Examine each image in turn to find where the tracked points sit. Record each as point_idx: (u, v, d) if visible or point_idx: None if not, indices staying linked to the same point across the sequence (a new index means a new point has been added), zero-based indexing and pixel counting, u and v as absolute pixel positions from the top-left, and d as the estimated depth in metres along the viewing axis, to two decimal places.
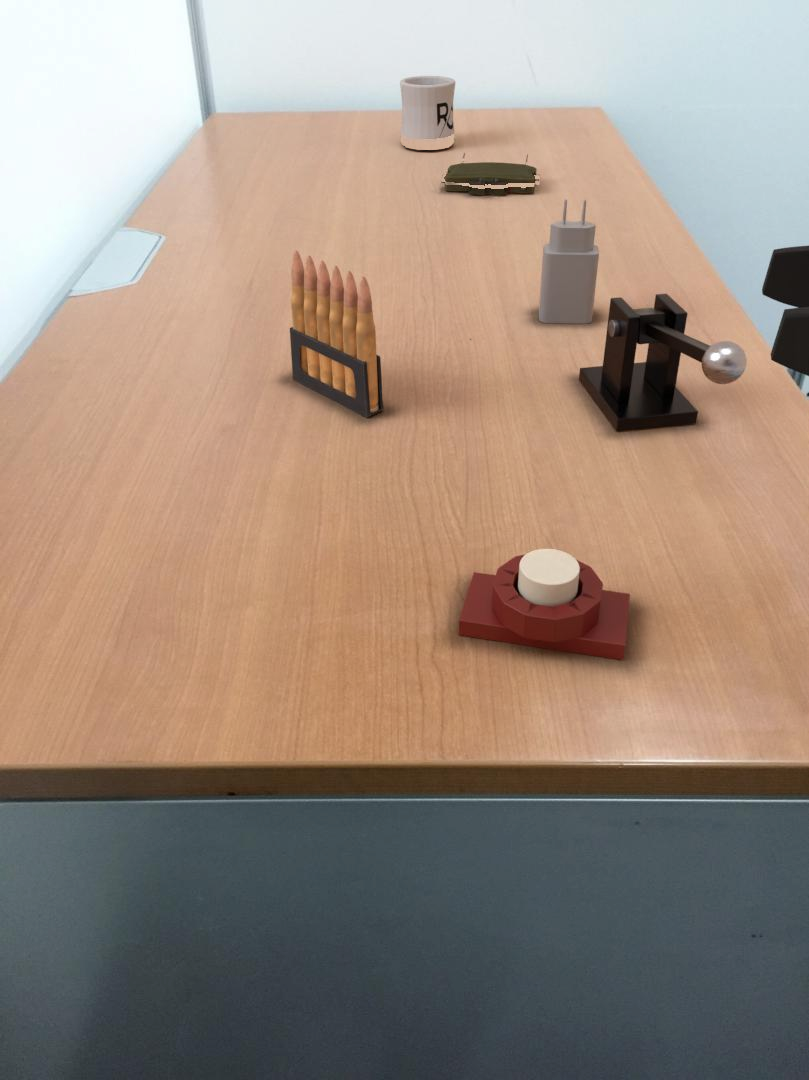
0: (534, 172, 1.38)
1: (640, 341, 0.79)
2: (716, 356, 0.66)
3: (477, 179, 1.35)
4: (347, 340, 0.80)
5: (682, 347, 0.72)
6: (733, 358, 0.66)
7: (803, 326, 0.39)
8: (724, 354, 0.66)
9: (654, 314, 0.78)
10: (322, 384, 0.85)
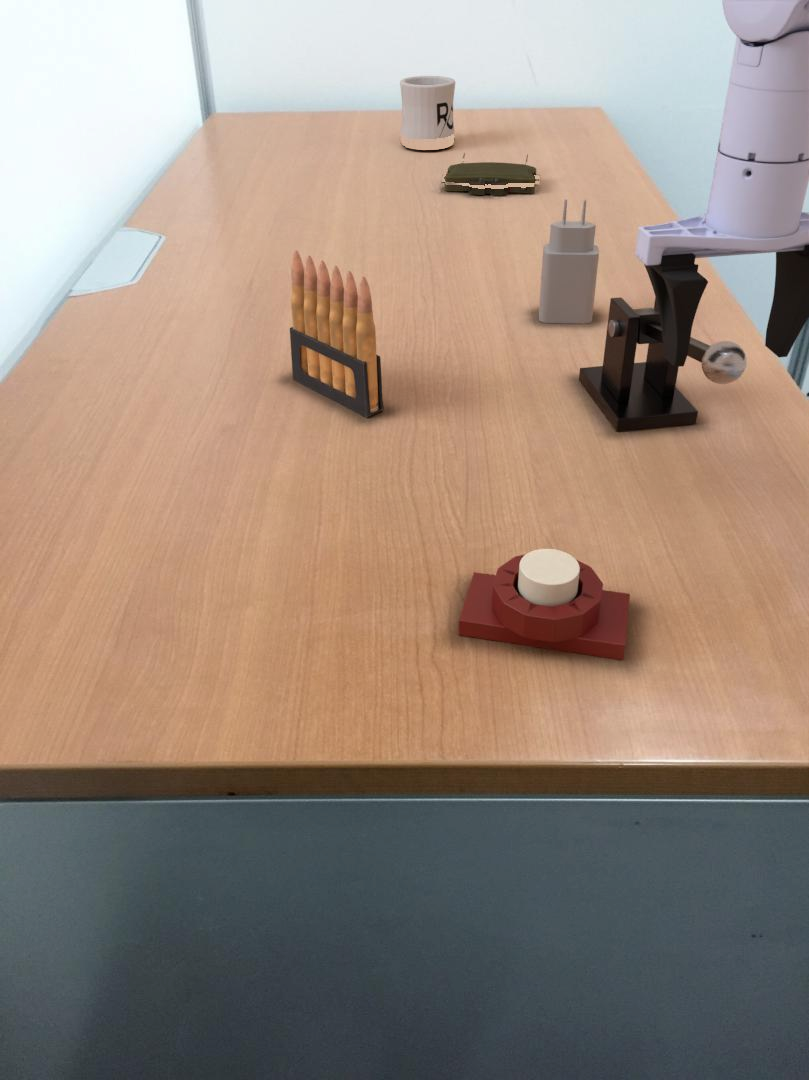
0: (534, 172, 1.38)
1: (640, 341, 0.79)
2: (716, 356, 0.66)
3: (477, 179, 1.35)
4: (347, 340, 0.80)
5: None
6: (733, 358, 0.66)
7: (665, 346, 0.66)
8: (724, 354, 0.66)
9: (654, 314, 0.78)
10: (322, 384, 0.85)
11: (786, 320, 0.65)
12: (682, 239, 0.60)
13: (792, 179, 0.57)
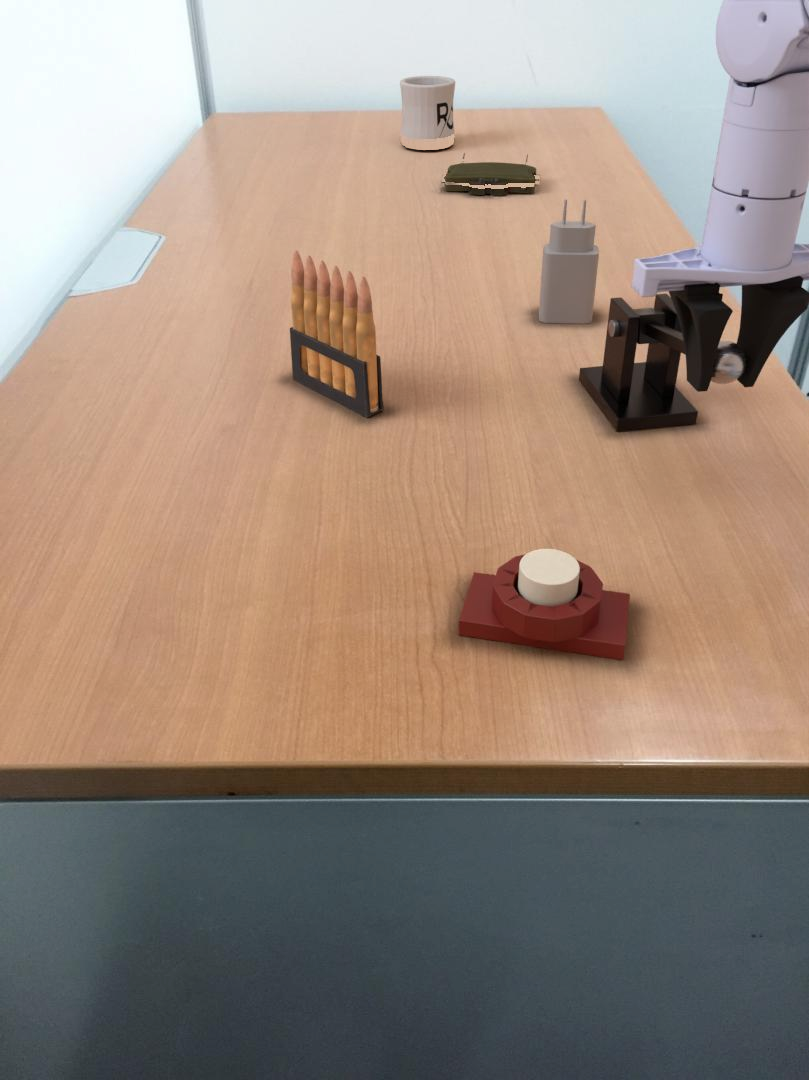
0: (534, 172, 1.38)
1: (640, 341, 0.79)
2: (716, 356, 0.66)
3: (477, 179, 1.35)
4: (347, 340, 0.80)
5: (682, 347, 0.72)
6: (733, 358, 0.66)
7: (688, 371, 0.68)
8: (724, 354, 0.66)
9: (654, 314, 0.78)
10: (322, 384, 0.85)
11: (751, 351, 0.66)
12: (677, 272, 0.61)
13: (785, 214, 0.59)
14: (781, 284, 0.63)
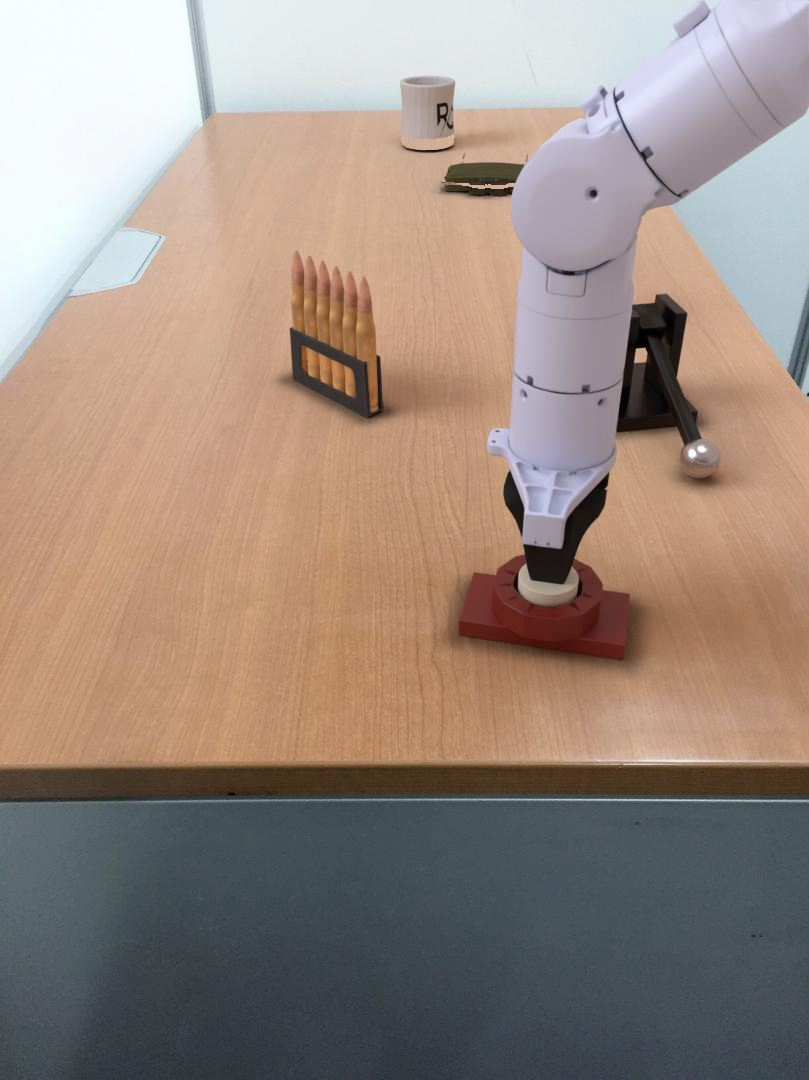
0: None
1: (636, 346, 0.80)
2: (693, 463, 0.71)
3: (477, 179, 1.35)
4: (347, 340, 0.80)
5: (670, 403, 0.75)
6: (707, 468, 0.71)
7: (536, 571, 0.57)
8: (700, 463, 0.71)
9: (655, 327, 0.78)
10: (322, 384, 0.85)
11: None
12: (575, 500, 0.48)
13: None
14: None
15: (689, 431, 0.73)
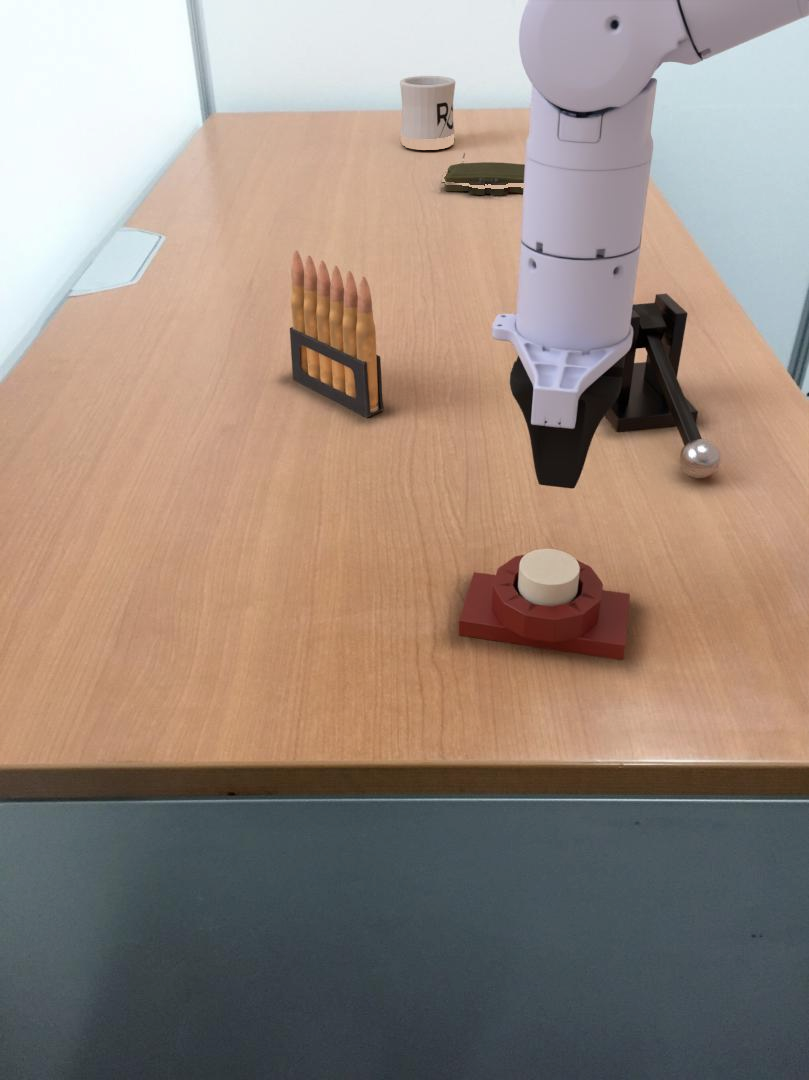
0: None
1: (636, 346, 0.80)
2: (693, 463, 0.71)
3: (477, 179, 1.35)
4: (347, 340, 0.80)
5: (670, 403, 0.75)
6: (707, 468, 0.71)
7: (544, 473, 0.53)
8: (700, 463, 0.71)
9: (655, 327, 0.78)
10: (322, 384, 0.85)
11: None
12: (589, 377, 0.44)
13: None
14: None
15: (689, 431, 0.73)
